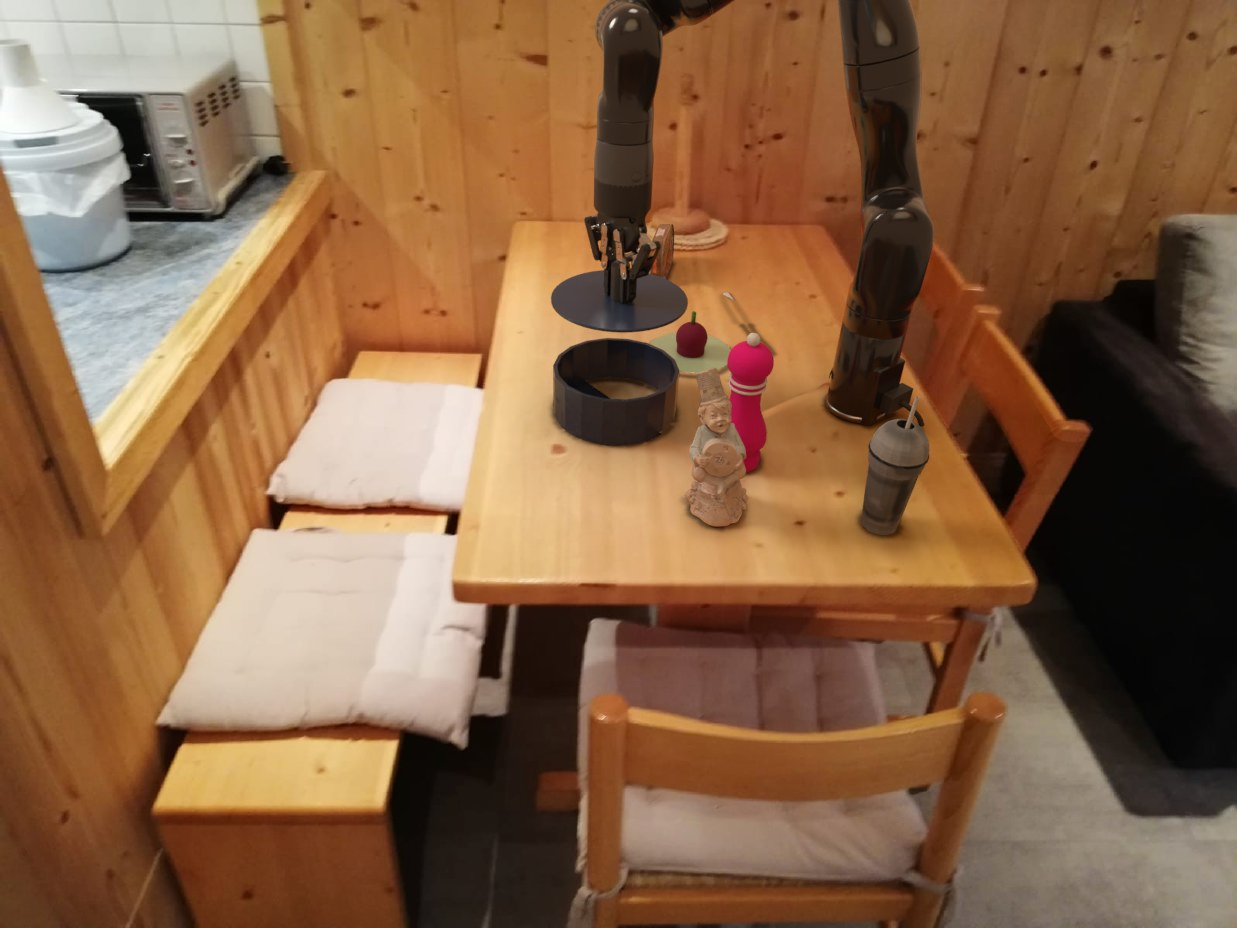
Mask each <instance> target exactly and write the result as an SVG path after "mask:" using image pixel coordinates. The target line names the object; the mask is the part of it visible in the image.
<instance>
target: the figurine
mask: <svg viewBox="0 0 1237 928" xmlns="http://www.w3.org/2000/svg"><path fill="white" fill-rule="evenodd" d="M695 378H696V384H697V389H698V394H699V399H700V400H699V401H700V403H699V407H698V409H697V412H698V413H697V416H698V418H699V420H700V422H701V424H702V425H698V426H697V429H696V431H695V434H694V437H693V439H692V443H691V444H690V446H689V451H688V452H689V457H690V459H691V461H692V468H691V477H692V479H693V480H694V481H693V482H692V483H691V488H689V490H687V491H686V492H685V493H684V498H685V499H686V500H687V501H688V502H689V504H690V509H689V510H690V513H691V514H692V516H695V517H697V518H698V519H699V520H701V521H702V522H704V524H706V525H708V526H711V527H726V526H729V525H731V524H736V523H737V522H739V520H740V519H741V517H742V515H743V511H747V509H748V507H747V505H748V504H747V502H748V499H749V498H748V495H747V488H745V487H743V486H742V482H741V480H742V479H744V478H745V476H746V474H747V472H746V468H745V465H744V463H743V459H746V450H745V446H744V444H743V442H742V440H741V438H740V436H739V434H738V432H737V430H736V428H735V425H734V423H731V408H732V404H731V402H730V399H728V396H727V394H726V391H725V390H724V387H723V383H722V380H721V377H720V374H719V371H718V370H717V369H716V368H715V367H714V368H709V369H707V370H703V371H700V372H698V373H695Z"/></svg>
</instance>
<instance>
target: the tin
mask: <svg viewBox="0 0 1237 928" xmlns="http://www.w3.org/2000/svg"><path fill="white" fill-rule="evenodd" d="M674 226H675V225H674V224H673V223H667V224H666V223H659V225H658V226H657V228H656V231H655V233H654V235H653V238H652V239H651V241H652V242H654V241H659V242H660V245H661V248H660V250H659V253H658V255H657V257H656V259H655V261H654V263H653V266H652V268H651V270H650V272H649V274H653V275H656V276H659V277H662V278H665V279H667V278H668V276H669V274H670V270H671V267H672V265H673V260H674V253H675V252H674V251H675V227H674Z"/></svg>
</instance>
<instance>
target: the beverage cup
mask: <svg viewBox="0 0 1237 928" xmlns="http://www.w3.org/2000/svg"><path fill="white" fill-rule="evenodd" d="M919 401H920V396H918V395H916V396H915V397H914V399H913V403H912V405H911V406H912V409H911V412H909V415H908V418H907V419H906V418H895V419H891V420H888V421H886V422H885V423H883V424H882V425H880V426H879V427H878V428H877V429H876V430H875V432H874V434H873V435H872V437H871V440H870V441H869V443H868V444H867V445H868V446H867V448H868V453H867V454H868V457H867V458H868V466H867V474H866V482H865V487H864V494H863V502H862V509H861V510H862V511H861V512H862V514H861V525H862V526H863V528H864V529H866V530H867V531H868V532H870V533H872V534H875V535H878V536H890V535H892V534H894V533H895V532H897V528H898V526H899V524H900V523H901V520H902V518H903V515H904V514H905V510H906V508H907V505H908V503H909V500H910V498H911V496H912V494H913V491H914V488H915V486H916V483H917V481H918V479H919V476H920V475H921V474H922V472H923V470H924V469H925V467H926V465H927V463H928V462H929V460H930V442H929V438H928V435H927V433H926V431H925V430H924V429H923V427H920V426H919V424H918V423H916V422H915V421H913V419H914V417H915V416H914V413H915V410H917V407H918V405H919Z"/></svg>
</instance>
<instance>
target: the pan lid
mask: <svg viewBox="0 0 1237 928" xmlns="http://www.w3.org/2000/svg"><path fill="white" fill-rule="evenodd" d="M630 268H631V262H629V263H628V269H630ZM620 278H621V274H620V263H619V262H618V261H614V262H612V263H611V287H610V296H609V295H607V294H605V289H604V269H601V270H593V271H588V272H583V273H579V274H576V275H574V276H571V277H569V278H566V279H564V280H563V281H561V282H560V283H559V284H557V285H556V286H555V288H554V289H553V290H552V292H551V295H550V303H551V306H552V308H553V310H554V311H555V313H556V314H558V315H559V316H560V317H561V318H563V320H566V321H568V322H570V323H571V324H574V325H577V326H579V327H582V328H586V329H589V330H593V331H600V332H606V333H621V334H622V333H638V332H646V331H647V332H649V331H652V330H657V329H660V328H664V327H666V326H669V325H671V324H673V323H675V322H676V321H678V320H679V319H680V318H682V317H683V316H684V314H686V312H687V309H688V305H689V299H688V296H687V294H686V292H685V290H683V289H682V288H681V287H680V286H679V285H677V283H674V282H673V281H671V280H669V279H667V278H666V279H665V278H662V277H659V276H656V275H653V274H650V273H649V274H648V275H647V276H644V277H641V278H638V279H637V287H636V297H635V299H634V301H632V302H629V303H627V304H623V303H621V302H620V301H619V296H620Z"/></svg>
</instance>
